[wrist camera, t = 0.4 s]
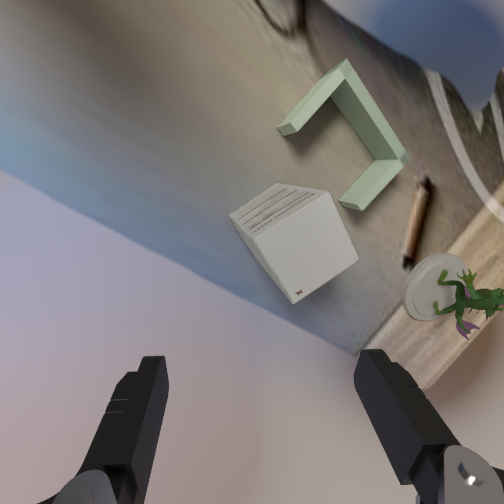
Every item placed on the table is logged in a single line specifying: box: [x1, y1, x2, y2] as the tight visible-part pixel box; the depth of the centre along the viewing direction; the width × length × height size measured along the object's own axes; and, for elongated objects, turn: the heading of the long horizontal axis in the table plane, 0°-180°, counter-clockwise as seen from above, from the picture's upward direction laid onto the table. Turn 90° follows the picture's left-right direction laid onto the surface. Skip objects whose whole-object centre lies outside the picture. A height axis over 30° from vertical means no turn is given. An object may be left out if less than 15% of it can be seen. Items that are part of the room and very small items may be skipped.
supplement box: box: [228, 183, 359, 304], centre depth 27 cm, size 7×7×13 cm
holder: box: [277, 59, 410, 211], centre depth 30 cm, size 8×13×4 cm, turn 46°
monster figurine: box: [402, 252, 504, 340], centre depth 39 cm, size 12×12×10 cm
